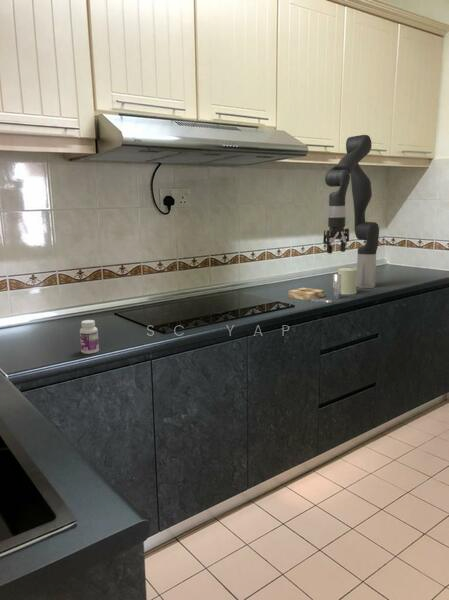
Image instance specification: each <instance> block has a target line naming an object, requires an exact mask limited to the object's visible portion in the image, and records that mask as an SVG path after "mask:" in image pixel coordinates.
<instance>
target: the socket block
mask: <svg viewBox="0 0 449 600" xmlns="http://www.w3.org/2000/svg"><path fill="white" fill-rule="evenodd" d="M287 293H288V298H290V299H291V298H292V299H296V300H298V299H299V300H304V301H310V298H318V299H322V298H324V297H325V290H324V289H319V288H311V287H300V288H295V289H291V290H287Z"/></svg>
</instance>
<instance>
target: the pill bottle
mask: <svg viewBox="0 0 449 600" xmlns="http://www.w3.org/2000/svg"><path fill="white" fill-rule="evenodd" d="M80 324H81V328H80V329H79V339H80V340H79V341H80V351H81V353H82V354H85V355H86V354H87V355H90V354H95V353H98V352H99V351H100V345H99V330H98V327H96V321H95V320H94V319H85V320H82V321H81V323H80Z"/></svg>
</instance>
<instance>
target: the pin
mask: <svg viewBox="0 0 449 600" xmlns="http://www.w3.org/2000/svg"><path fill="white" fill-rule="evenodd" d="M332 275H333V276H332V299H335V300H336V299H337V300H338V299H339V300H340V299H341V295H342V294H341V274H338V273H333V274H332Z"/></svg>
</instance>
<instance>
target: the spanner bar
mask: <svg viewBox="0 0 449 600" xmlns="http://www.w3.org/2000/svg"><path fill="white" fill-rule="evenodd" d="M310 301H311V302H316V303H325V304H333V300H331V299H324V298H310Z"/></svg>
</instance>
